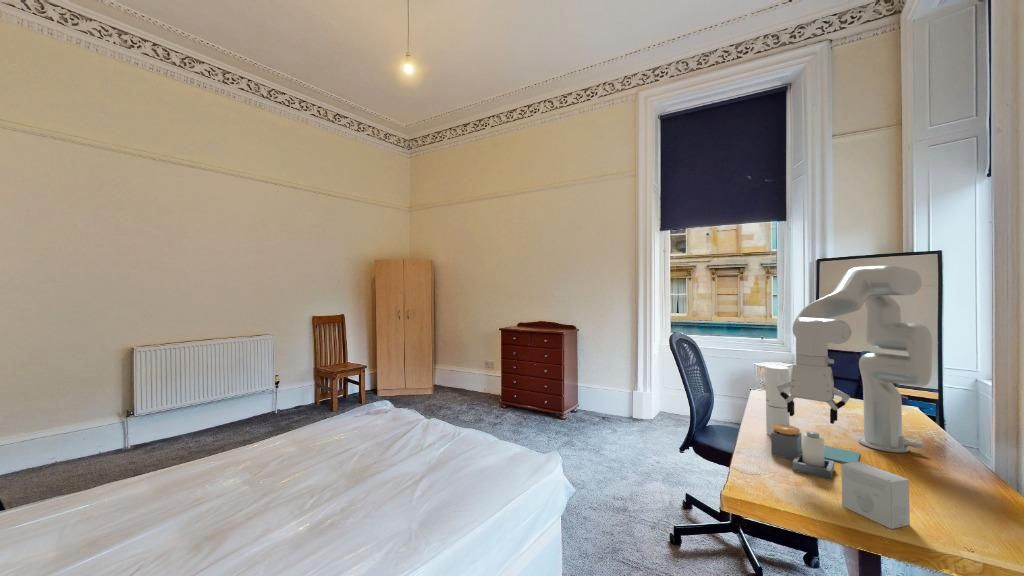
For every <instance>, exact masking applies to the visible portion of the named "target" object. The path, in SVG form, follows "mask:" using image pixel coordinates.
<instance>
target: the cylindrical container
mask: <svg viewBox="0 0 1024 576" xmlns="http://www.w3.org/2000/svg"><path fill="white" fill-rule="evenodd" d="M764 369H765V416H766V417H765V420H766V422H765V423H766V425H765V426H766V427H765V429H766V430H765V431H766V432H767V433H766V434H767V435H768V434H769V435H768V436H770V435H771V433H772V432H773V430H774V429H773V426H774V425H776V424H784V425H790V412H787V402H786V400H785V399H784V398H783V397H782V396H781V395H780V392H779V391H778V389H777V386H778V385H781V384H785V383H788V382H790V376H789V375H790V373H789V372H790V371H789V370H790V369H789V367H787V366H784V365H783V366H782V365H774V364H773V365H765V368H764ZM784 391H785V393H786V394H788V395H789V396H790V387H787V388H784ZM790 426H791V425H790Z"/></svg>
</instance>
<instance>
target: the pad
mask: <svg viewBox="0 0 1024 576" xmlns="http://www.w3.org/2000/svg"><path fill="white" fill-rule="evenodd" d="M860 457H861V453H860V452H857V451H853V450H848V449H843V448H839V447H834V446H829V445H825V444H824V459H826V460H830V461H834V463H835V462H836V463H840V464H844V463H851V462H860Z"/></svg>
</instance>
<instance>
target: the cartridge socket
mask: <svg viewBox="0 0 1024 576" xmlns="http://www.w3.org/2000/svg"><path fill="white" fill-rule="evenodd" d="M824 461H825V468H820V467H816V466H812V465H808V464H804V463H803V461H802V454H800V453H798V454H797V456H796V457H795V459H794V460H792V461H791V462H792V471H793V472H794V471H795V472H798V473H801V474H804V475H805V474H806V475H808V476H809V475H810V476H813V477H816V478H820V479H826V480H829V481H831V480H832V477H833V475H834V472H835V461H831V460H827V459H824Z"/></svg>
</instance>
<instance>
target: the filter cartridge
mask: <svg viewBox="0 0 1024 576" xmlns="http://www.w3.org/2000/svg"><path fill="white" fill-rule="evenodd" d="M824 445H825V438H824V436H821V435H820V433H818V432H816V431H812V430H811V431H810V430H808V431H806V433H805V432H804V433H802V461H803V463H804V464H808V465H812V466H816V467H820V468H825V461H824Z"/></svg>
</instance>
